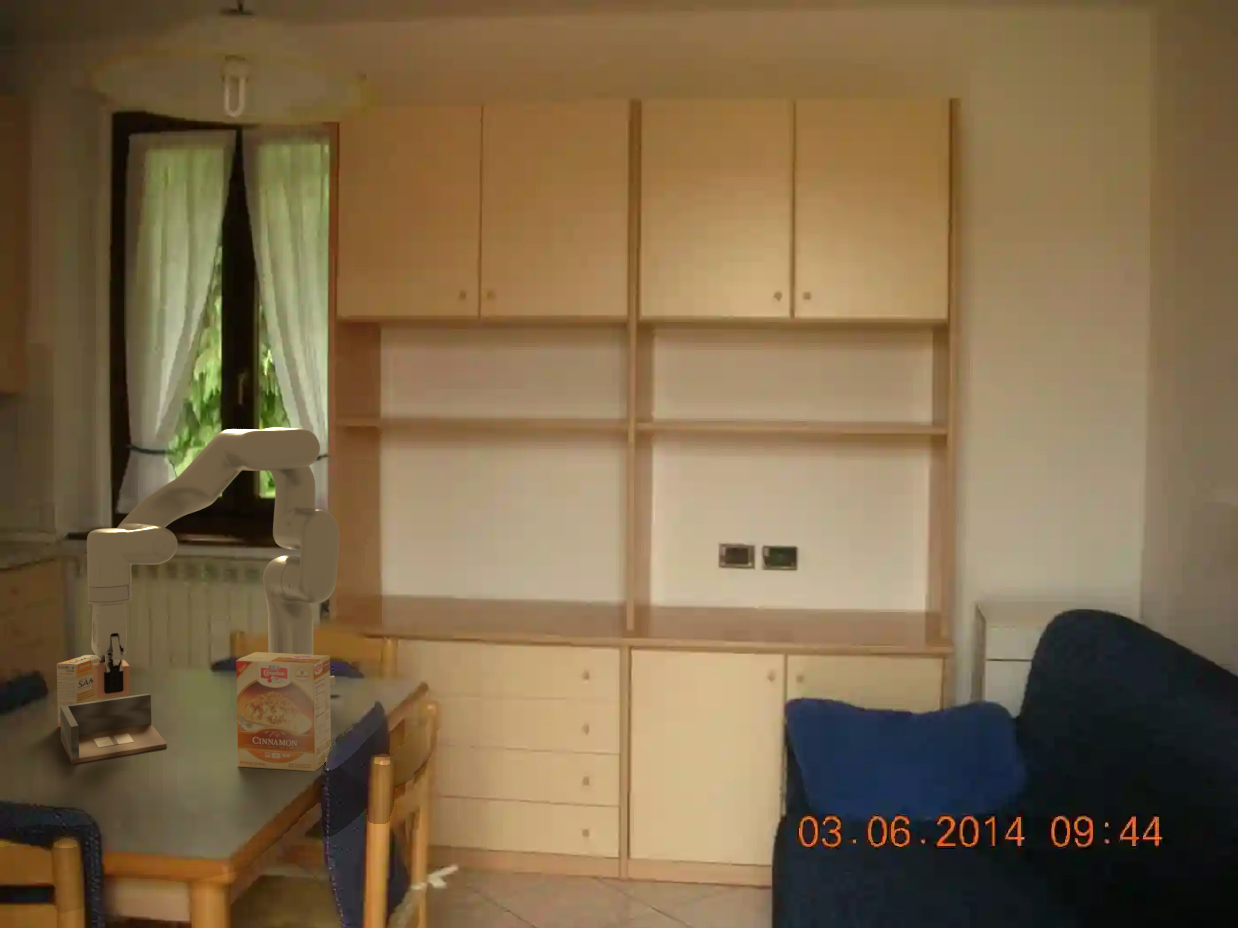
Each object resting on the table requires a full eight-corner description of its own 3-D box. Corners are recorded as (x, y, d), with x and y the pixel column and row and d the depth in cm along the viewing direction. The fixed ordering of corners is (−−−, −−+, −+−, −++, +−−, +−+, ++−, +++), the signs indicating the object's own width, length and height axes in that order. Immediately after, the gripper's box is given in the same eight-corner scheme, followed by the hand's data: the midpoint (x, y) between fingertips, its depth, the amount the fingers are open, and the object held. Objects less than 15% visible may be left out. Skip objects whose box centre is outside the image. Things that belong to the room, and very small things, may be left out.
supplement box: (78, 728, 208) (76, 664, 208) (57, 727, 209) (55, 663, 209) (106, 717, 216) (104, 654, 216) (85, 715, 217) (84, 653, 217)
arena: (150, 726, 210) (149, 693, 210) (166, 747, 197) (165, 712, 196) (61, 740, 201) (60, 705, 201) (71, 763, 188) (70, 726, 187)
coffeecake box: (236, 767, 186) (234, 659, 185) (256, 754, 193) (255, 650, 192) (314, 772, 184) (313, 663, 183) (332, 759, 191) (331, 653, 190)
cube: (93, 691, 198) (92, 662, 198) (124, 687, 202) (124, 659, 201) (97, 698, 194) (97, 668, 194) (129, 694, 197) (129, 664, 197)
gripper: (81, 589, 202) (82, 681, 203) (94, 602, 188) (96, 701, 189) (123, 586, 206) (124, 676, 207) (139, 599, 192) (141, 695, 193)
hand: (111, 687), depth 198 cm, fingers closed on cube, 5 cm apart
